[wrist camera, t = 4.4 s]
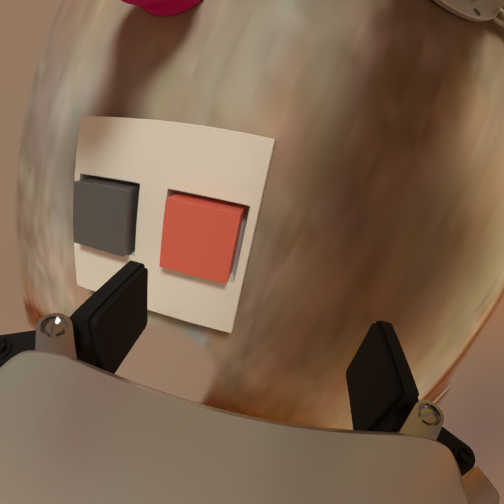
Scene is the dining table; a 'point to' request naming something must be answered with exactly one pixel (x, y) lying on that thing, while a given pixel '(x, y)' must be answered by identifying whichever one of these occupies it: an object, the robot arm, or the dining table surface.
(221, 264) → the button red
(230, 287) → the switch panel
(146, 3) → the pepper mill
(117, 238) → the button black
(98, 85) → the dining table surface
